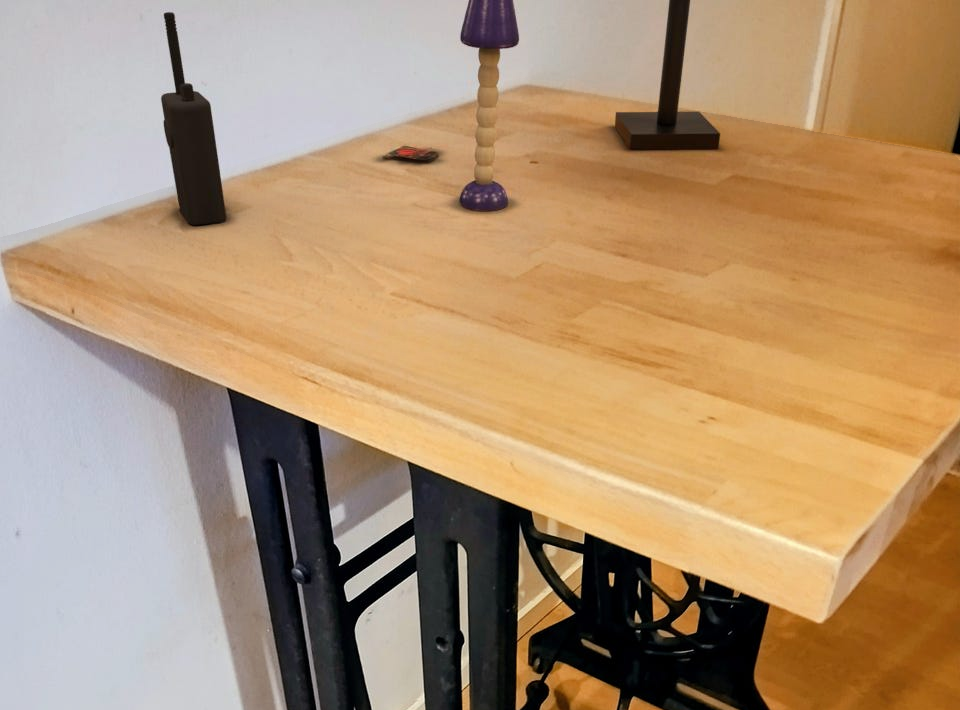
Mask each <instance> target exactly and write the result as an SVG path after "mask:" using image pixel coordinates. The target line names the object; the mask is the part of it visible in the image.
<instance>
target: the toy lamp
mask: <svg viewBox="0 0 960 710" xmlns="http://www.w3.org/2000/svg"><path fill="white" fill-rule="evenodd" d="M460 30H461V31H460V36H459V38H460V42H461V43H462V45H465V46H467V47H470V48H474V49H478V53H477V54H478V61H479V67H478V70H477V81H478V83H479V86H478V89H477V95H476V98H477V102H478V106H477V109H476V115H475V116H476V117H475V118H476V122H477V127H476V131H475V141H476V144H477V145H476V147H475V150H474V160H475V163H476V164H475V166H474V168H473V169H474V170H473V171H474V172H473V177H474V180H472V181H470V182H468V183H467V184H466V185H465V186H464V187H463V188H462V190H461V192H460V194H459V199H458V202H459V204H460V205H461V206H462V207H464V208H466V209H468V210H473V211H481V212H486V211H487V212H489V211H498V210H502V209H504V208H506V207H508V205H509V197H508V194H507V192H506V189H505V188H504V186H503V185H502V184H500V183H499V182H497V181H495V180H494V176H495V168H494V162H495V158H496V148H495V146H494V145H495V143H496V140H497V129H496V124H497V122H498V114H499V113H498V108H497V103H498V101H499V88H498V87H497V86H498V83H499V80H500V69H499V66H498V65H499V63H500V59H501V50H502V49H503V50H504V49H510V48H511V49H512V48H515V47H517V46H518V45H519V42H520V33H519V27H518V22H517V15H516V9H515V4H514V0H468V1H467V7H466V11H465V13H464V19H463V22H462V26H461V29H460Z"/></svg>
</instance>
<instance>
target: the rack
mask: <svg viewBox="0 0 960 710" xmlns="http://www.w3.org/2000/svg"><path fill="white" fill-rule="evenodd" d="M690 7H691V0H669V1H668V9H667V19H666V27H665V36H664V37H665V39H664V47H663V49H664V50H663V58H662V68H661V78H660V88H659V95H658V96H659V97H658V106H657V111H616V112H615V120H614V128H615V130H616V131H617V132H618V134H619V135H620V137H621V138H622V140H623V142H624V143H625V145H626V146H627V148H628V149H629V150H630V151H641V150H642V151H643V150H646V151H648V150H649V151H651V150H653V151H655V150H656V151H657V150H658V151H659V150H718V149H719V147H720V138H721V132H720V131H719V130H718V129H717V128H716V127H715V126H714V125H713V124H712V123H711V122H710V121H709V120H708V119H707V118H706V117H705V116H704V115H703V114H702V113H701V112H700V111H699V110H698V111H679V105H680V104H679V103H680V95H681V86H682V78H683V68H684V60H685V50H686V42H687V33H688V32H687V31H688V25H689V24H688V23H689V15H690Z"/></svg>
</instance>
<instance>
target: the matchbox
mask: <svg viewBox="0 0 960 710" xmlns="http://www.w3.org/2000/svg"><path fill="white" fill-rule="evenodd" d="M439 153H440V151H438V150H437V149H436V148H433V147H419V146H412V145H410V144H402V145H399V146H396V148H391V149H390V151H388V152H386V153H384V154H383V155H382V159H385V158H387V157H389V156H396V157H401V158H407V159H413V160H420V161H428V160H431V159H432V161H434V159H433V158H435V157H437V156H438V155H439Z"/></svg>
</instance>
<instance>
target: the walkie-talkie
mask: <svg viewBox="0 0 960 710" xmlns="http://www.w3.org/2000/svg"><path fill="white" fill-rule="evenodd" d="M163 20H164V24H165V30H166V31H165V33H166V38H167V44H168V51H169V57H170V63H171V69H172V76H173V83H174V89H175V92H167V93H166V92H165V93H162V95H161V97H160V101H161V106H162V107H161V108H162V113H163V118H164V119H163V130H164V135H165V136H164V137H165V141H166V143H167V146H168V149H169V154H170V155H169V156H170V161H171V166H172V172H173V173H172V174H173V178H174V184H175V191H176V196H177V202H178V207H179V212H180V214H181V215H182V216H183V218H184V219H185V220H186V221H187V223H188V224H190V225H191V226H202V225H211V224H217V223H223V222H225V221H226V220H227V210H226V206H225V198H224V190H223V183H222V177H221V170H220V169H221V168H220V162H219V156H218V149H217V142H216V140H217V139H216V133H215V126H214V120H213V114H212V113H213V112H212V105H211V102H210V101H209V100H208V99H207V98H205V96H204V95H202V94H201V92H199V91H196V90H194V86H193V84H192V83H187V82H186V80H185V79H186V78H185V74H184V68H183V60H182V53H181V48H180V42H179V41H180V40H179V35H178V28H177V22H176V16H175V12H172V11H167V12H164V13H163Z"/></svg>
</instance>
